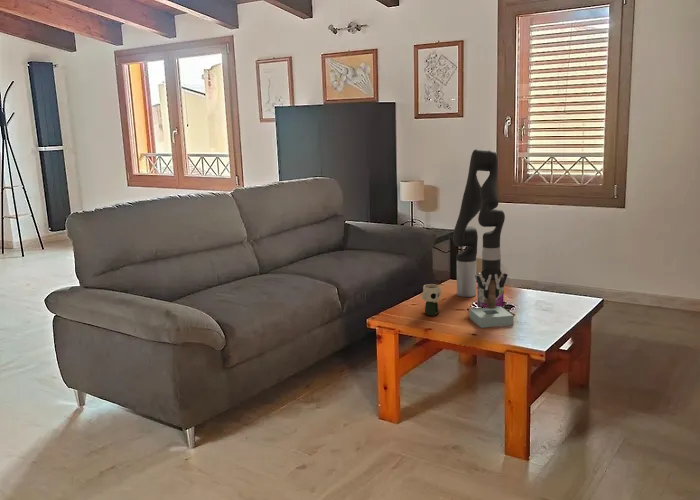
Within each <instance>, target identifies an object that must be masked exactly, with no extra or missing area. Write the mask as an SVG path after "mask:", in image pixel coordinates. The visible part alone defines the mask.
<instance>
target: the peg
mask: <svg viewBox="0 0 700 500" xmlns="http://www.w3.org/2000/svg"><path fill="white" fill-rule="evenodd" d="M487 308H489V309H494V308H496V282H495V280H490V284H489V286H488V299H487Z"/></svg>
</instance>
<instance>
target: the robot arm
mask: <svg viewBox="0 0 700 500" xmlns="http://www.w3.org/2000/svg"><path fill="white" fill-rule="evenodd" d="M470 155H471V156H470V161H469V166H468V175H467V180H466V184H465V187H464V192H463V196H462V201H461V205H460V211H459V215H458V217H457V221H456V223H455V226H454V229H453V232H452V242H453V245H454V246H455V247H459V248H460V247H461V248H462V247H466V248H465V249H464V250H462V251H461V252H458V253H457V254H456V296H458V297H460V298H461V297H463V298H471V297H475V296H477V287H478V286H479V288H481V289H483V290H484V297H485V298H486V299H488V286H489V284H490V280H495V282H496V298H498V296H499V288H501V287H503V286H504V285H505V283H506V280H507V278H508V276H509V275H508V274H507V273H506V272H503V271H502V270H501V265H502V263H501V262H502V261H501V259H502V255H501V254H502V253H501V235H502V234H501V233H502V230H503V226H504V224H505V218H506V216H505V212H504V211H503V210H502V209H500V208H499V209H496V208H497V207H498V206H499V194H498V187H497V186H498V170H499V169H498V167H499V166H498V165H499V164H498V163H499V162H498V161H499V159H498V154H497V151H496V150H492V149H481V148H478V149H477V148H475V149H474V150H473V151H472V152H471V154H470ZM478 171H479V172H489V174H488V177H487V178H486V179H485V181H484V182H483V184H480V181H479V179H478V176H477V173H478ZM477 214H478V216H477ZM476 216H477V221H478V225H480V226H481V227H483V228H488V227H489V228H492V227H493V228H494V229H493V230H490V231H487V232H484V233H483V234H482V251H481V272H480V273H481V274H479V275H478V274H477V254H478V242H479V241H478V239H479V238H478V236H479V235H478V231H477V228H476V227H475V226H468V225H469V223H470V222H472V220H473V219H474V218H475V217H476ZM500 275H501V279H500V282H499V281H498V278H499V277H500ZM482 276H483V278H484V285H483V284H482V282H481V279H482ZM504 287H505V286H504Z"/></svg>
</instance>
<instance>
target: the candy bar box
mask: <svg viewBox="0 0 700 500" xmlns="http://www.w3.org/2000/svg"><path fill="white" fill-rule="evenodd" d="M479 274H481V272H478V273H477V275H479ZM500 279H501V275H500V277H499V278H498V281H499V282H500ZM481 282H482V284H483V285H484V278H483V276H482V279H481ZM504 288H505V286H503V287H501V288H499V296H498V298H496V307H497V306H501V307H502V308H504V298H505V297H504V296H505V295H504V290H505V289H504ZM476 296H477V303H476V305H478V307H487V299H486V298H485V297H484V290H483V289H481V288H479V286H478V285H477V295H476Z"/></svg>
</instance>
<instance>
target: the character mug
mask: <svg viewBox="0 0 700 500" xmlns="http://www.w3.org/2000/svg"><path fill="white" fill-rule="evenodd" d="M422 288H423V289H422V290H423V291H422V292H421V298H422V300H423V301H425V305H424V314H426V315H427V316H437V315H439V314H440V311H439V310H440V308H439V303H438V302H439V300H440V299H441V294H442V290H441V287H440V285H439V284H434V283H429V284H428V283H427V284H424V285H423V286H422Z"/></svg>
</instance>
